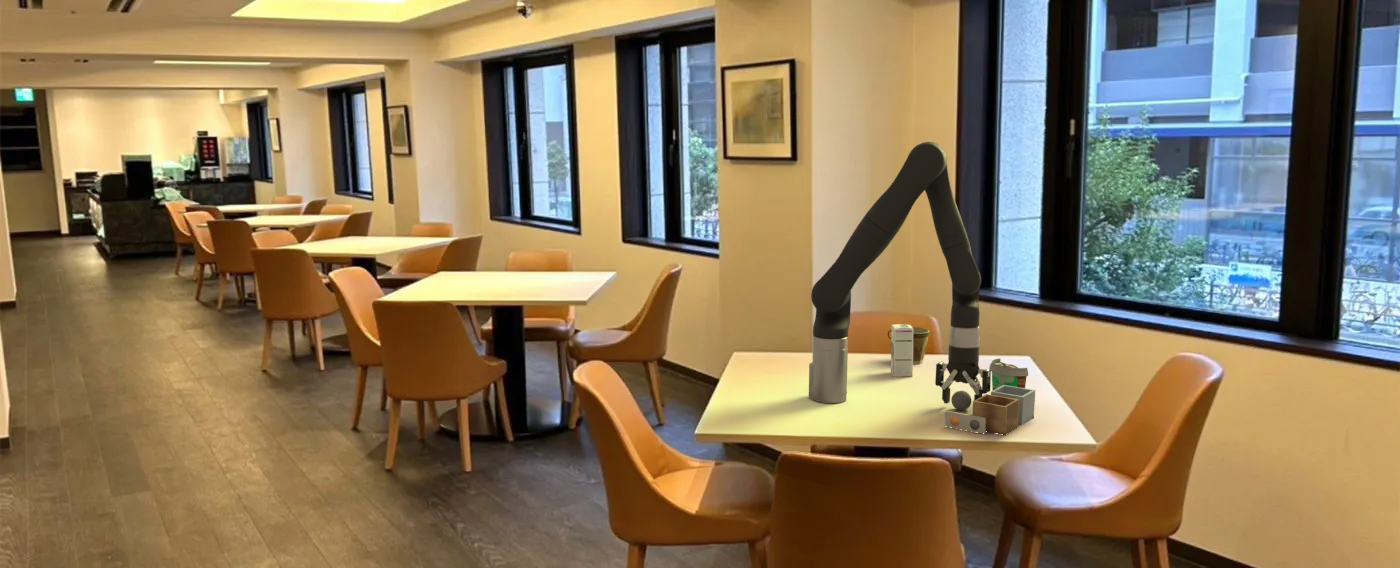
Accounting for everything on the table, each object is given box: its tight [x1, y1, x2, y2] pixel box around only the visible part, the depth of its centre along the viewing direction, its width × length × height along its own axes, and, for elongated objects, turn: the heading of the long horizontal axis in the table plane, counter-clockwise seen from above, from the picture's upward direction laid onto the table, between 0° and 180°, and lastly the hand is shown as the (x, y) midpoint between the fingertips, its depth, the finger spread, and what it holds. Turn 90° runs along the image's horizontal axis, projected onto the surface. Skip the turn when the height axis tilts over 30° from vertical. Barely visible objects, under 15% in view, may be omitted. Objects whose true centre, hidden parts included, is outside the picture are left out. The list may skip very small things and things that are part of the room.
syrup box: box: [890, 323, 914, 378], centre depth 296 cm, size 6×6×14 cm
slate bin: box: [990, 385, 1036, 426], centre depth 253 cm, size 8×8×7 cm
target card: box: [944, 410, 987, 435], centre depth 243 cm, size 10×1×4 cm, turn 52°
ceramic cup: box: [887, 326, 930, 365], centre depth 312 cm, size 13×10×10 cm
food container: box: [988, 358, 1029, 391], centre depth 269 cm, size 12×6×10 cm, turn 21°
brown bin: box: [971, 393, 1019, 436], centre depth 244 cm, size 8×8×7 cm
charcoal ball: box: [950, 390, 972, 411], centre depth 260 cm, size 5×5×5 cm
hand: (961, 405), depth 260 cm, fingers open, 7 cm apart
